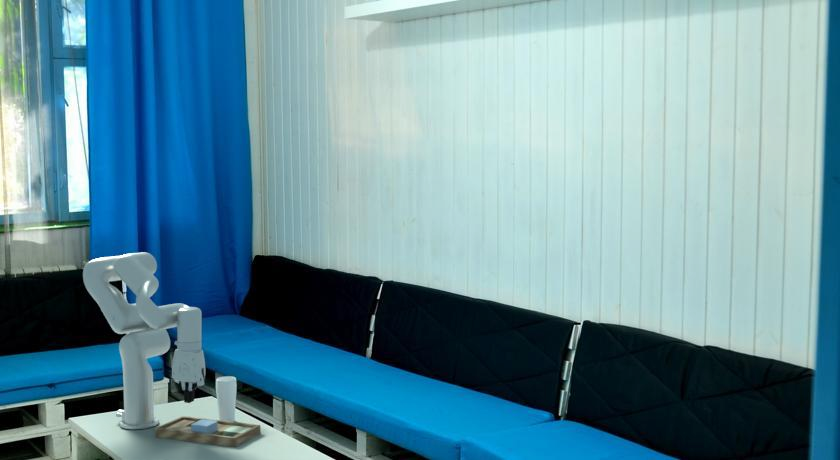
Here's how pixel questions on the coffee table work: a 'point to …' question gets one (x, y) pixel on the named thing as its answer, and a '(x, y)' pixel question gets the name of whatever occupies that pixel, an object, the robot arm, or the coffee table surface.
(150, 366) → the robot arm
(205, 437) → the box
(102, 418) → the coffee table surface
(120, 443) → the coffee table surface
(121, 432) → the coffee table surface
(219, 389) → the drinking glass
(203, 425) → the block
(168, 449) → the coffee table surface
